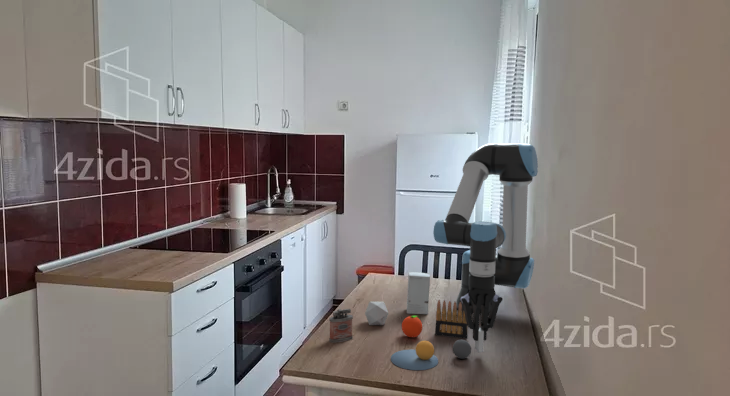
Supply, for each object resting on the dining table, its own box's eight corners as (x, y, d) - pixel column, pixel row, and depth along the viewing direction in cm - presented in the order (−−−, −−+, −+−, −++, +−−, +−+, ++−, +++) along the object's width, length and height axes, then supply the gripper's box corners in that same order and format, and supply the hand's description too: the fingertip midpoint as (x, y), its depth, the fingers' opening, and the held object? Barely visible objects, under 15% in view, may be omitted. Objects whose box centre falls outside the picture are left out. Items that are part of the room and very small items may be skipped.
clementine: (410, 330, 171) (411, 310, 170) (427, 335, 166) (428, 314, 165) (397, 337, 164) (397, 316, 164) (414, 342, 160) (415, 321, 159)
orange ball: (426, 334, 150) (410, 344, 149) (430, 341, 144) (414, 351, 144) (434, 349, 151) (419, 358, 150) (439, 356, 145) (423, 366, 145)
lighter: (331, 343, 158) (332, 312, 157) (327, 339, 161) (327, 309, 160) (354, 339, 162) (354, 309, 161) (349, 335, 165) (350, 306, 164)
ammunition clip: (467, 336, 166) (468, 301, 164) (467, 338, 164) (468, 303, 163) (435, 333, 169) (436, 298, 167) (434, 334, 167) (435, 300, 166)
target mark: (430, 349, 155) (430, 348, 155) (444, 368, 141) (444, 368, 141) (386, 351, 153) (386, 350, 153) (396, 371, 139) (396, 370, 139)
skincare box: (406, 313, 187) (407, 275, 186) (406, 308, 193) (407, 271, 192) (429, 314, 187) (430, 276, 185) (428, 309, 193) (429, 272, 191)
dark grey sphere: (455, 333, 150) (446, 349, 150) (462, 341, 145) (453, 357, 145) (469, 340, 152) (461, 356, 152) (477, 348, 147) (468, 364, 147)
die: (380, 331, 171) (394, 307, 173) (359, 318, 172) (373, 294, 174) (379, 331, 179) (393, 308, 181) (359, 318, 180) (373, 295, 182)
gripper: (465, 277, 143) (462, 356, 145) (508, 276, 145) (504, 354, 147) (456, 271, 150) (454, 346, 153) (497, 270, 152) (494, 344, 154)
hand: (478, 350), depth 150 cm, fingers closed
